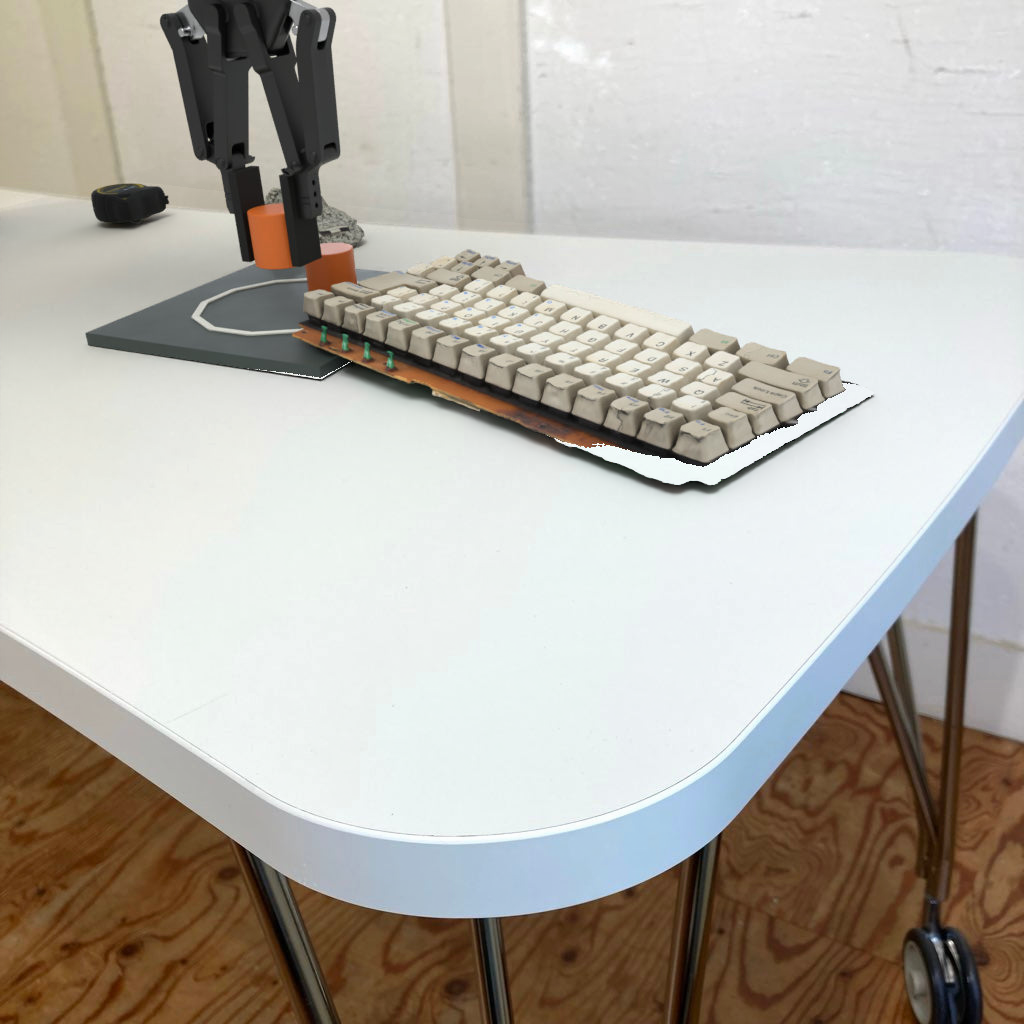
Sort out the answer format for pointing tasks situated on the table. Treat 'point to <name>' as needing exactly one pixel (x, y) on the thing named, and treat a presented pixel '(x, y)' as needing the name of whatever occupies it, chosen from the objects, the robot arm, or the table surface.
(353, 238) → the rock sample
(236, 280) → the slate board
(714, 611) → the table surface
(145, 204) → the tape measure
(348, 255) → the short orange drum
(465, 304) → the mechanical keyboard
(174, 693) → the table surface
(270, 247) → the orange cylinder
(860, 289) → the table surface
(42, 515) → the table surface
